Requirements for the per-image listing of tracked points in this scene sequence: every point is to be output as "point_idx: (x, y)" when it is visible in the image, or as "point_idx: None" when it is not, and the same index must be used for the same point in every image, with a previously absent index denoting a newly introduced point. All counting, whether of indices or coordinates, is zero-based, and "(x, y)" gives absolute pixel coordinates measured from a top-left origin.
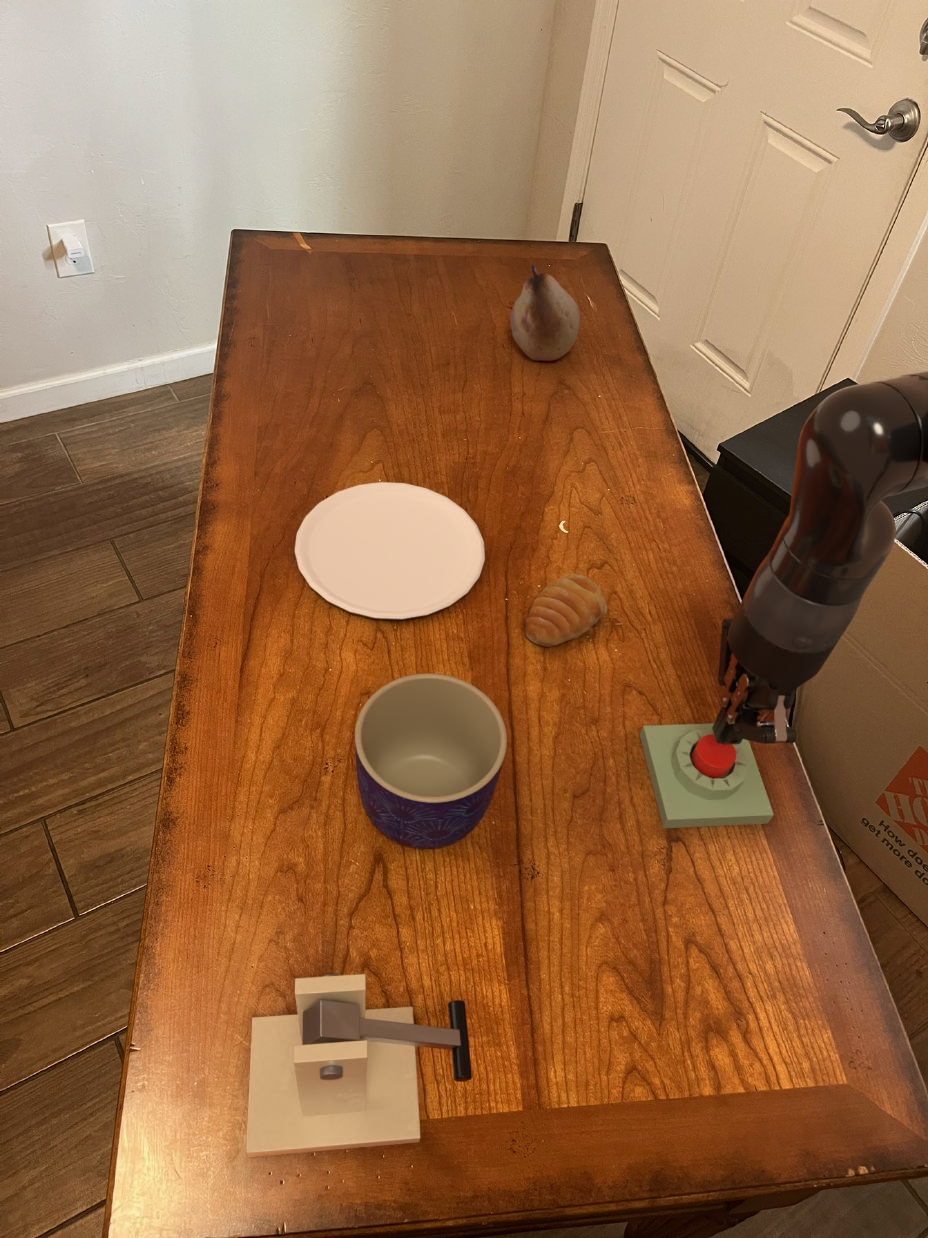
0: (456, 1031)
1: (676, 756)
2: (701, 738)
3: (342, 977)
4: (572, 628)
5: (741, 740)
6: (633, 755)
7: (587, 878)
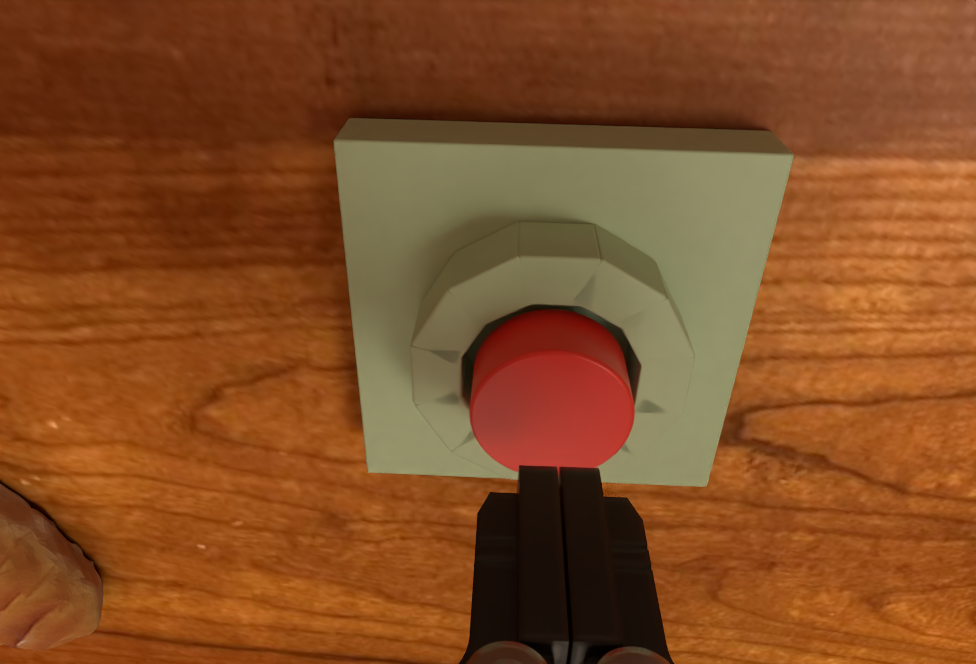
0: None
1: None
2: (487, 453)
3: None
4: (27, 582)
5: (646, 545)
6: None
7: (774, 607)
